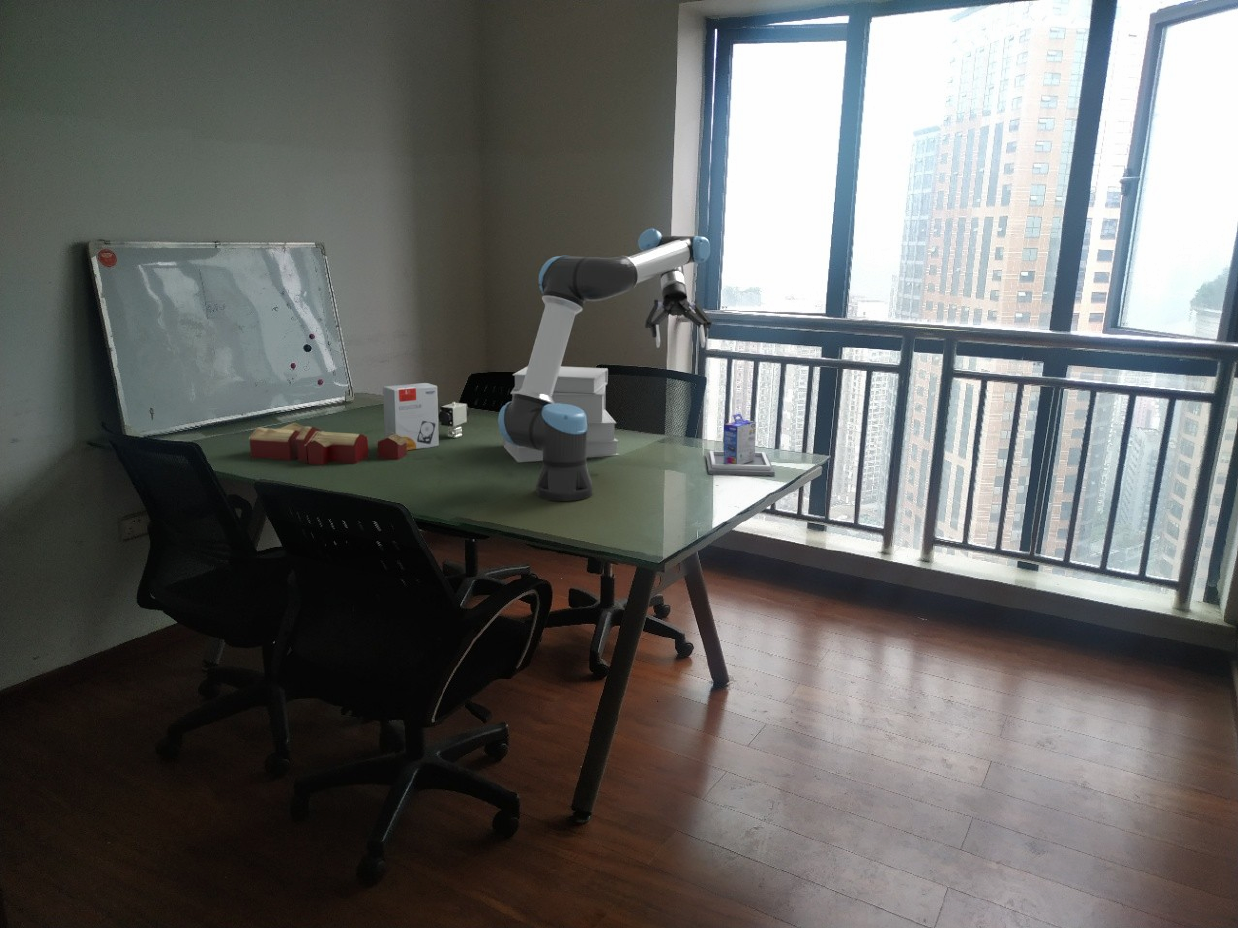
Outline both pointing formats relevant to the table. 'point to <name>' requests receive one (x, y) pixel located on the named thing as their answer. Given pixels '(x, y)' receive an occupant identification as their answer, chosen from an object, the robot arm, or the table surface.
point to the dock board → (750, 468)
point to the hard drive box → (412, 414)
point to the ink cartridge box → (739, 441)
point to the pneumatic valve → (454, 417)
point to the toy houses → (320, 445)
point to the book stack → (584, 393)
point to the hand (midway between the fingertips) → (681, 345)
